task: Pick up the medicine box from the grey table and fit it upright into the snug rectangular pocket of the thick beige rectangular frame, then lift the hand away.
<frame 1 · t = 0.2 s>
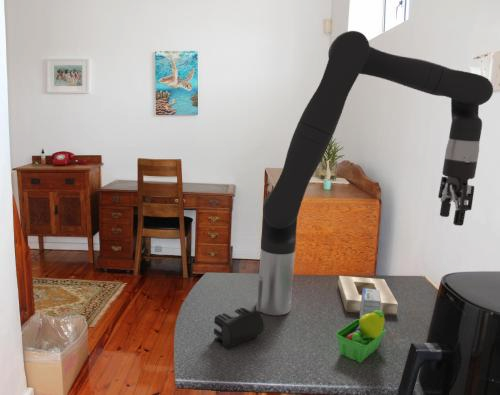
hand: (450, 220, 118), 28 cm above the countertop, tool pointing down, fingers open, 8 cm apart
medicine box: (368, 325, 120), on the countertop
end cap: (237, 342, 108), on the countertop
thick beige rectangular frame: (365, 299, 135), on the countertop
fruit basket: (361, 353, 106), on the countertop
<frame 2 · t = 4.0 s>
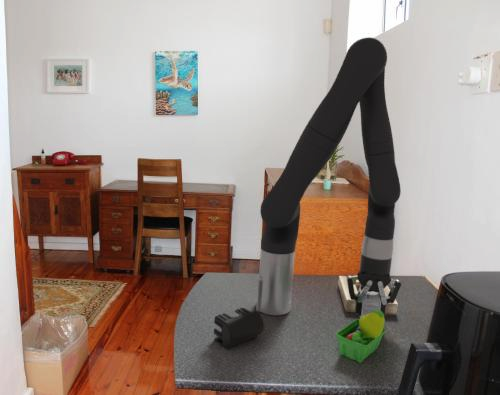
hand: (369, 315, 119), 3 cm above the countertop, tool pointing down, fingers closed on medicine box, 4 cm apart
medicine box: (367, 325, 120), on the countertop, touching gripper
everything else where it was.
when the fingers open (5 cm above the countertop, at t = 10.0 s): medicine box drops 1 cm, resting on thick beige rectangular frame.
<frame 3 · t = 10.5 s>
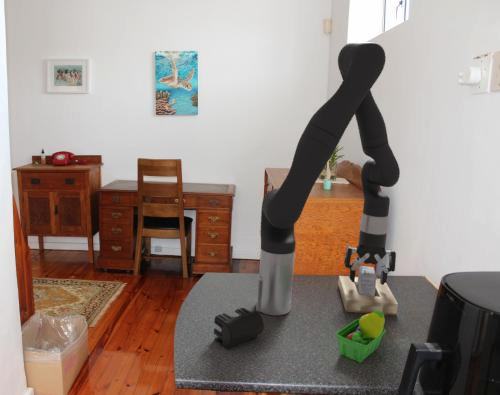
hand: (367, 282, 134), 5 cm above the countertop, tool pointing down, fingers open, 8 cm apart
medicine box: (364, 298, 135), resting on thick beige rectangular frame
everything else where it was.
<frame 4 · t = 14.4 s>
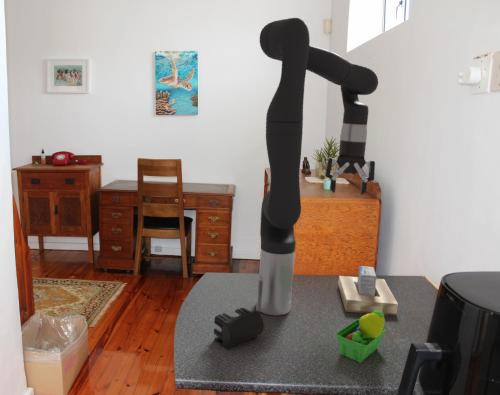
hand: (347, 193, 138), 30 cm above the countertop, tool pointing down, fingers open, 8 cm apart
nothing on the countertop moved.
at the end: medicine box 0.2 cm off-centre on the thick beige rectangular frame, point 0.3 cm above the thick beige rectangular frame's base; medicine box tilted 0°; the gripper is holding nothing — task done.
